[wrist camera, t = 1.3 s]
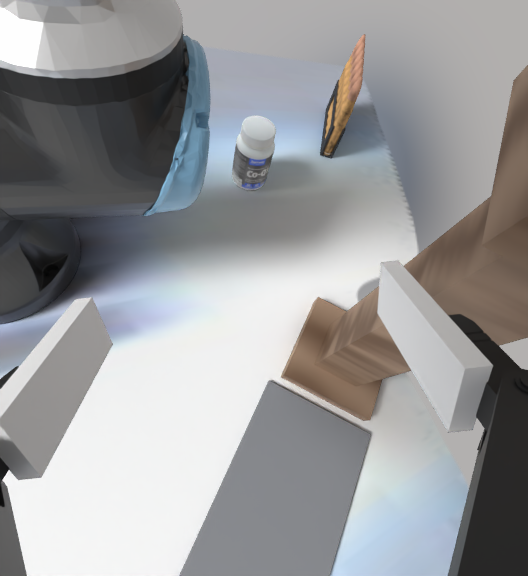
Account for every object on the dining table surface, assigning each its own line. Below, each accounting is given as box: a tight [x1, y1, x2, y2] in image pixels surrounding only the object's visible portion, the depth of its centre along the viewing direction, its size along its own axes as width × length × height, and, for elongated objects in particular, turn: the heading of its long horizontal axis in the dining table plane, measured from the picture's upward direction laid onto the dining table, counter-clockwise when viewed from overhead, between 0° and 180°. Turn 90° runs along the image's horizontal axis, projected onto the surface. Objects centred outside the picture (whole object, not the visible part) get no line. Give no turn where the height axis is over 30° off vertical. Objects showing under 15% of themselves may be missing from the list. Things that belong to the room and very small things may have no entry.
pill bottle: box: [232, 116, 276, 190], centre depth 42 cm, size 5×5×8 cm
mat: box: [179, 381, 371, 576], centre depth 31 cm, size 20×12×1 cm, turn 154°
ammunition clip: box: [320, 34, 365, 158], centre depth 47 cm, size 11×2×12 cm, turn 170°
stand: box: [281, 65, 528, 421], centre depth 24 cm, size 10×10×30 cm
